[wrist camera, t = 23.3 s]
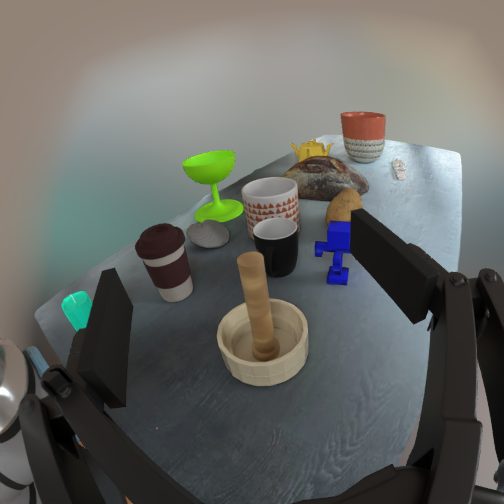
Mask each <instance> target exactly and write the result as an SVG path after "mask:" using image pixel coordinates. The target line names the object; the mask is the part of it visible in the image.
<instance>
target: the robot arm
mask: <svg viewBox="0 0 504 504" xmlns="http://www.w3.org/2000/svg"><path fill="white" fill-rule="evenodd" d="M349 252H350V253H351V254H352V255H353V256H354V257H355V258H356V259H357V260H358V262H359V263H360V264H361V265H362V266H363V267H364V268H365V269H366V270H367V271H368V273H369V274H370V275H371V276H372V277H373V278H374V279H375V280H376V281H377V283H378V284H379V285H380V286H381V287H382V288H383V289H384V290H385V292H386V293H387V294H388V295H389V296H390V297H391V299H392V300H393V301H394V302H395V303H396V304H397V306H398V307H399V308H400V309H401V310H402V311H403V313H404V314H405V315H406V316H407V317H408V319H409V320H410V321H411V322H412V323H413V325H414V324H416V323H418V322H420V321H422V320H424V319H425V318H426V316H427V313H428V310H430V312H431V313H432V314H433V315H432V318H431V321H430V323H429V326H428V329H427V331H429V330H430V328H431V332H430V348H429V359H428V369H427V378H426V386H425V393H424V399H423V405H422V411H421V417H420V422H419V428H418V432H417V437H416V441H415V445H414V447H413V449H412V452H411V454H410V455H409V458H408V461H407V464H406V466H401V467H394V466H393V464H391V465H389V466H387V467H385V468H383V469H381V470H379V471H377V472H375V473H372V474H370V475H368V476H366V477H364V478H363V479H362V480H360V481H359V482H358V483H356V484H355V485H353V486H352V487H351V488H349V489H348V490H346V491H345V492H343V493H342V494H340V495H338V496H334V497H327V498H319V499H309V500H302V501H299V502H296V503H292V504H504V283H503V281H502V279H501V277H500V276H499V275H498V273H497V272H495V271H494V270H491V269H487V268H485V269H482V270H480V272H479V275H478V278H471V279H467V278H466V276H464V275H463V274H461V273H458V272H450V273H449V272H447V271H446V270H445V269H444V268H443V267H442V266H441V265H440V264H438V263H437V262H436V261H435V260H434V259H433V258H431V257H430V256H429V255H428V254H426V252H424V251H423V250H422V249H421V248H420V247H418V246H416V245H414V244H411V243H409V244H406V243H405V242H404V241H403V240H402V239H400V238H399V237H398V236H397V235H395V234H394V233H393V232H392V231H391V230H389V229H388V228H387V227H386V226H384V225H383V224H382V223H381V222H379V221H378V220H377V219H375V218H374V217H373V216H372V215H370V214H369V213H368V212H366V211H365V210H364V209H363V208H360V209H356V210H351V221H350V249H349ZM488 311H489V313H488ZM132 312H133V305H132V303H131V301H130V299H129V297H128V295H127V293H126V291H125V289H124V287H123V285H122V282H121V280H120V278H119V276H118V274H117V272H116V269H115V268H112V269H108V270H104V271H102V273H101V277H100V280H99V283H98V286H97V290H96V293H95V297H94V300H93V304H92V307H91V311H90V315H89V318H88V322H87V326H86V328H81V329H79V330H78V331H77V333H76V334H75V336H74V338H73V342H72V345H71V346H72V348H71V349H70V355H69V358H68V362H67V366H66V369H65V368H64V367H63V366H62V365H53V366H51V367H49V366H48V365H47V363H46V361H45V360H44V358H43V357H42V355H41V353H40V352H39V350H38V349H37V348H36V347H34V346H31V347H29V348H25V349H24V350H23V352H22V351H21V350H20V349H19V347H18V346H17V345H15V344H14V343H13V342H11V341H10V340H7V339H3V338H0V504H106V503H105V501H104V499H103V497H102V495H101V493H100V491H99V489H98V487H97V485H96V483H95V481H94V479H93V477H92V474H91V472H90V470H89V468H88V466H87V463H86V461H85V459H84V456H83V454H82V451H81V449H80V446H79V444H78V442H79V441H81V442H82V444H83V445H84V447H85V448H86V449H87V451H88V452H89V453H90V455H91V456H92V457H93V458H94V460H95V461H96V462H97V464H98V465H99V466H100V467H101V468H102V470H103V471H104V472H105V473H106V475H107V476H108V477H109V478H110V479H111V480H112V482H113V483H114V484H115V485H116V486H117V487H118V488H119V489H120V490H121V492H122V493H123V494H124V495H125V496H126V497H127V498H128V499H129V500H130V501H131V502H132V503H133V504H204V503H203V502H202V501H200V500H199V499H198V498H196V497H195V496H194V495H192V494H191V493H190V492H189V491H187V490H186V489H185V488H184V487H182V486H181V485H180V484H179V483H177V482H176V481H175V480H174V479H173V478H171V477H170V476H169V475H168V474H167V473H166V472H165V471H163V470H162V469H161V468H160V467H159V466H158V465H157V464H156V463H155V462H154V461H152V460H151V459H150V458H149V457H148V456H147V455H146V454H145V453H144V452H143V451H142V450H141V449H140V448H139V447H138V446H137V445H136V444H135V443H134V442H133V441H132V440H131V439H130V438H129V437H128V436H127V435H126V434H125V433H124V432H123V431H122V429H121V428H120V427H119V426H118V425H117V424H116V423H115V422H114V421H113V420H112V418H111V417H110V416H109V415H108V414H107V413H106V412H105V411H104V402H105V403H106V404H107V406H108V407H109V408H110V409H111V408H121V407H126V387H127V368H128V354H129V342H130V331H131V321H132ZM477 359H478V363H479V367H480V370H481V374H482V378H483V383H484V387H485V392H486V396H487V401H488V406H489V412H490V417H491V423H492V430H493V438H494V444H495V450H496V454H497V458H498V461H499V467H498V470H497V471H496V472H495V474H494V481H495V482H496V483H498V488H497V490H493V489H488V488H485V487H481V486H477V485H475V482H476V476H477V471H478V465H479V458H480V451H481V441H482V432H483V429H482V428H483V427H482V423H481V422H480V421H477V418H476V413H477V388H478V383H477V382H478V369H477Z"/></svg>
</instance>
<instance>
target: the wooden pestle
mask: <svg viewBox="0 0 504 504" xmlns="http://www.w3.org/2000/svg"><path fill="white" fill-rule="evenodd" d="M237 263H238V268H239V273H240V278H241V283H242V288H243V292H244V297H245V302H246V307H247V311H248V316H249V321H250V326H251V330H252V335H253V340H254V341H253V343H252V345H251V349H252V353H253V356H254V357H255V358H256V359H257V360H259V361H262V362H268V361H271V360H274V359H275V358H276V357H277V356H278V355H279V353H280V345H279V341H278V340H277V339H276V338H275V337H274V329H273V322H272V315H271V307H270V300H269V293H268V286H267V279H266V272H265V264H264V257H263V255H262V254H261V253H259V252H246V253H244V254H242V255H240V256H239V257H238V259H237Z"/></svg>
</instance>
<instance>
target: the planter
mask: <svg viewBox="0 0 504 504" xmlns="http://www.w3.org/2000/svg"><path fill="white" fill-rule="evenodd" d="M341 123H342V131H343V140H344V146H345V149H346V151H347V153H348V154H349V156H350V157H351V158H352V159H354V160H355V161H357V162H361V163H370V162H373V161H375V160H377V159H378V158H379V157H380V156H381V154H382V152H383V149H384V142H385V115H383V114H379V113H372V112H345V113H341Z"/></svg>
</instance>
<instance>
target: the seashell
mask: <svg viewBox="0 0 504 504" xmlns="http://www.w3.org/2000/svg"><path fill="white" fill-rule="evenodd" d="M187 236H188V238H189V239H190V240H191V241H192V242H193V243H195V244H196V245H198V246H201V247H204V248H218V247H220V246H223V245H225V244H226V243H227V242H228V240H229V237H230V235H229V231H228V229H227V228H226V227H225V226H224V225H223V224H222V223H220V222H218V221H216V220H210V219H206V220H204V221H203V222H202V223H197V224H192V225H191V226H190V227H189V228H188V230H187Z"/></svg>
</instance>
